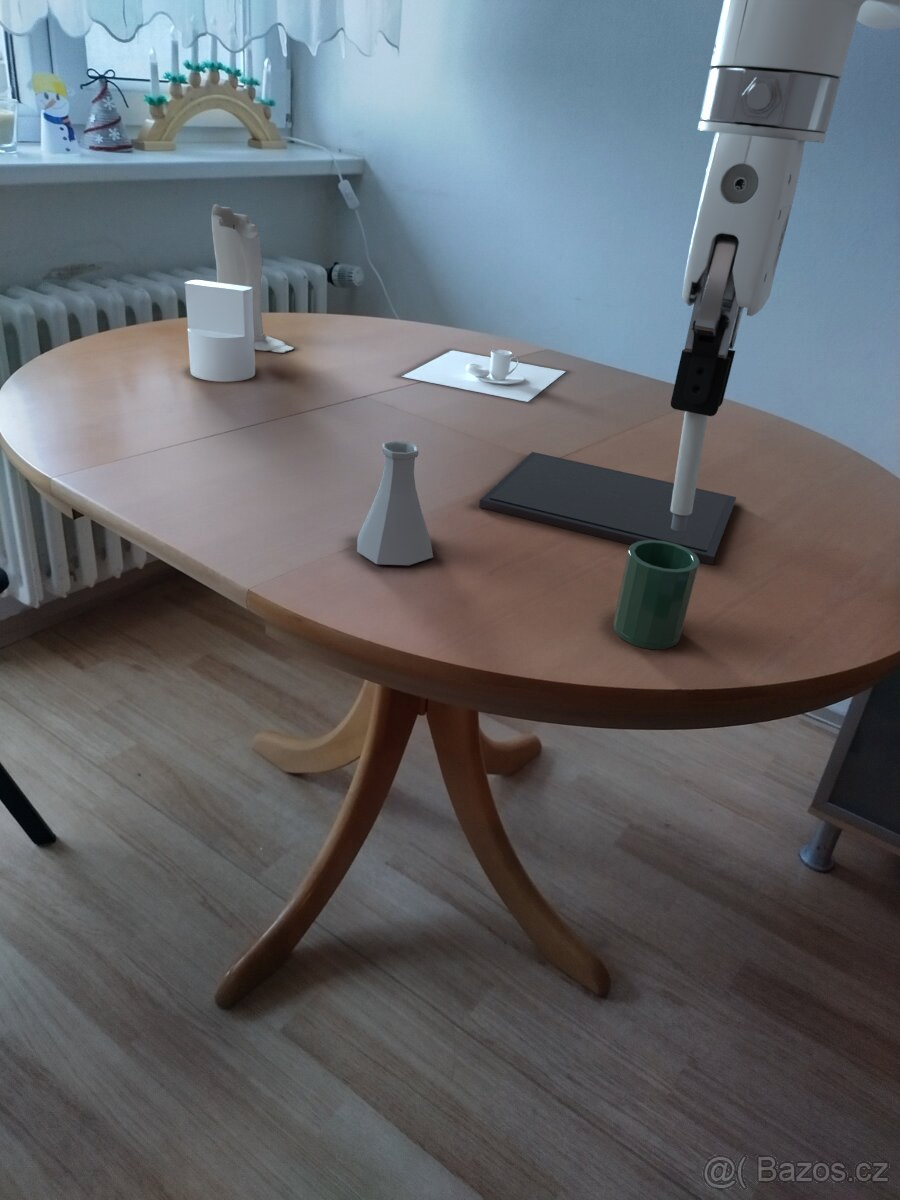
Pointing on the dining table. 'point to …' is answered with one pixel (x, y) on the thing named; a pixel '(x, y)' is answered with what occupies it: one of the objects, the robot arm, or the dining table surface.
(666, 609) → the pen holder
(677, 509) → the stylus
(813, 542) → the dining table surface
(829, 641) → the dining table surface
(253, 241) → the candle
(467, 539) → the dining table surface
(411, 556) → the flask
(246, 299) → the base with upright slab
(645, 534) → the tablet
